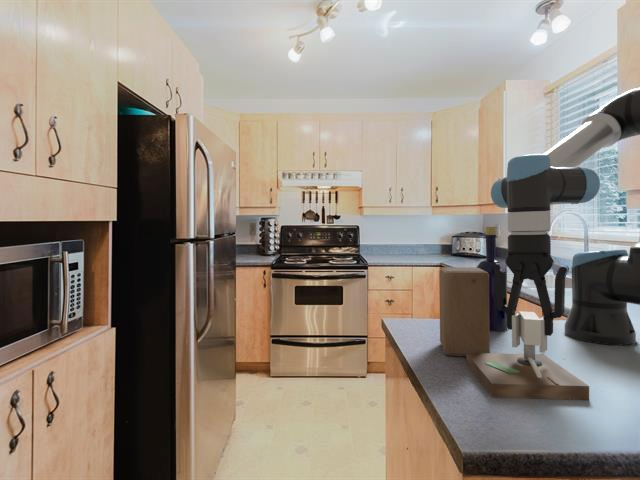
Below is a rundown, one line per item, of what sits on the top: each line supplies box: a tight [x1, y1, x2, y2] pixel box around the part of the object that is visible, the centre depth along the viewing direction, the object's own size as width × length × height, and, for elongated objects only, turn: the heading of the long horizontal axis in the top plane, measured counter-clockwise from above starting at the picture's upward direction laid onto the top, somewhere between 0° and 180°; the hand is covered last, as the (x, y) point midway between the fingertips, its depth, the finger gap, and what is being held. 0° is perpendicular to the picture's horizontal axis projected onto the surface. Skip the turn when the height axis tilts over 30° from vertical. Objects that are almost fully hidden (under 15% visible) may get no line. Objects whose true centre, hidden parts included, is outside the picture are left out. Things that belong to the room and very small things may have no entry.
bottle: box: [476, 226, 508, 333], centre depth 109 cm, size 9×9×30 cm
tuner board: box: [465, 352, 590, 401], centre depth 72 cm, size 16×16×3 cm
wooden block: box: [438, 266, 491, 357], centre depth 89 cm, size 10×10×20 cm
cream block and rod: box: [518, 310, 542, 378], centre depth 71 cm, size 3×14×9 cm, turn 159°
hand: (529, 347), depth 74 cm, fingers closed on cream block and rod, 4 cm apart
